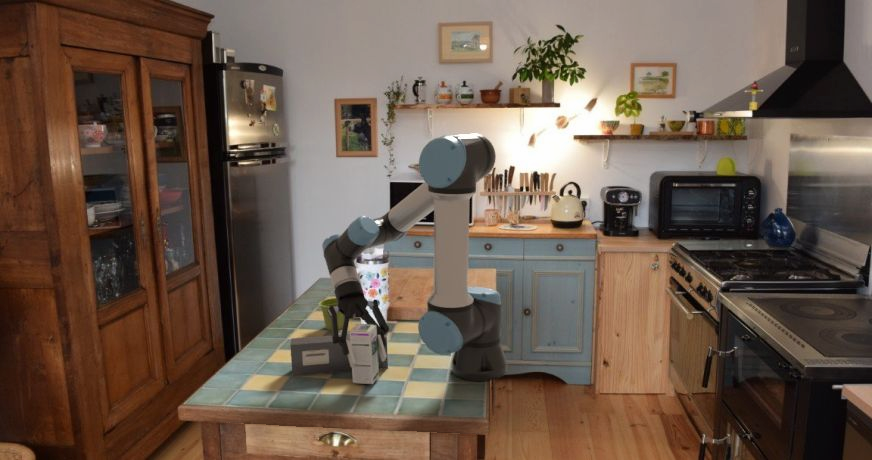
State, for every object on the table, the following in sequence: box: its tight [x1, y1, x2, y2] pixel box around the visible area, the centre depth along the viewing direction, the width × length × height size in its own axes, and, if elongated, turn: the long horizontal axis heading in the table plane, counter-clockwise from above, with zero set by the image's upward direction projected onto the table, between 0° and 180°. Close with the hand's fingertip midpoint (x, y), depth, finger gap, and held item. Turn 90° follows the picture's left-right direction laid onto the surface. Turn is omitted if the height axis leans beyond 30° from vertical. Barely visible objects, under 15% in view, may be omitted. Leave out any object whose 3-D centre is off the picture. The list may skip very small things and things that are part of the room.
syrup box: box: [349, 323, 380, 385], centre depth 179 cm, size 6×6×14 cm
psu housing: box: [290, 333, 389, 377], centre depth 188 cm, size 26×6×9 cm, turn 99°
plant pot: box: [318, 297, 344, 331], centre depth 222 cm, size 9×9×9 cm
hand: (369, 361), depth 176 cm, fingers closed on syrup box, 8 cm apart
